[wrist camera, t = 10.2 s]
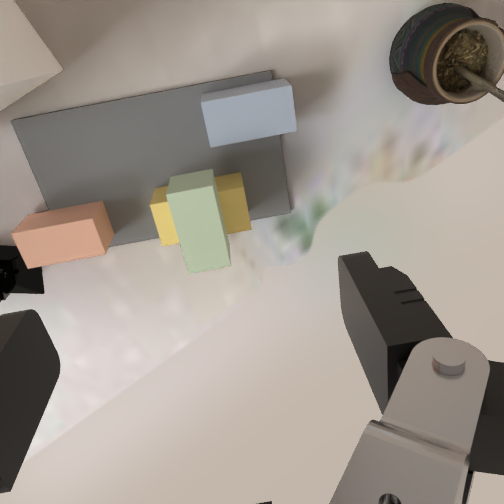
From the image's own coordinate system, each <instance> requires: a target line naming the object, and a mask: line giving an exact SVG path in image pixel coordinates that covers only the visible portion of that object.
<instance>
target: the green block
mask: <svg viewBox="0 0 504 504" xmlns="http://www.w3.org/2000/svg"><path fill="white" fill-rule="evenodd" d="M166 197H167V201H168V204H169V208H170V211H171V215H172V218H173V222H174V225H175V229H176V232H177V235H178V239H179V242H180V246H181V249H182V253H183V256H184V260H185V263H186V267H187V270H188V274H192V273H197V272H203V271H208V270H213V269H218V268H224V267H229V266H231V260H230V247H229V240H228V236H227V231H226V227H225V222H224V218H223V213H222V209H221V205H220V200H219V196H218V191H217V187H216V182H215V178H214V173H213V169H208V170H203V171H198V172H193V173H187V174H182V175H177V176H172V177H170V180H169V184H168V188H167V192H166Z"/></svg>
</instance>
